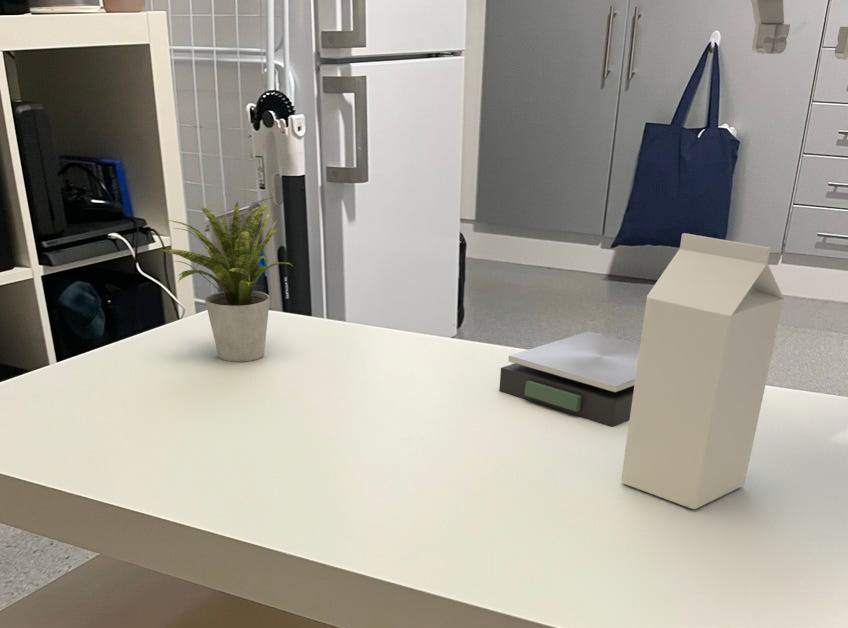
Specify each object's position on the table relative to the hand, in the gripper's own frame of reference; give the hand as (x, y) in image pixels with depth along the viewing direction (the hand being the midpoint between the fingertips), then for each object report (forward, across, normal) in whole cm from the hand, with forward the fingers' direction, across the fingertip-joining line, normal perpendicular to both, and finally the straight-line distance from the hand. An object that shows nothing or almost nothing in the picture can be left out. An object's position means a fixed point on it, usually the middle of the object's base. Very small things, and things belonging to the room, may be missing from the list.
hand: (807, 56), depth 68 cm
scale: (+30, +23, +1) cm, 38 cm away
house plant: (+31, +46, +34) cm, 65 cm away
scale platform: (+27, +23, +1) cm, 36 cm away
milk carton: (+31, 0, +4) cm, 31 cm away
